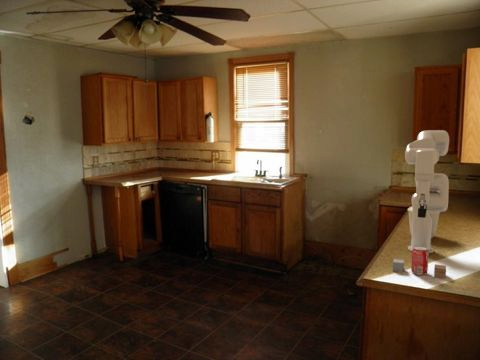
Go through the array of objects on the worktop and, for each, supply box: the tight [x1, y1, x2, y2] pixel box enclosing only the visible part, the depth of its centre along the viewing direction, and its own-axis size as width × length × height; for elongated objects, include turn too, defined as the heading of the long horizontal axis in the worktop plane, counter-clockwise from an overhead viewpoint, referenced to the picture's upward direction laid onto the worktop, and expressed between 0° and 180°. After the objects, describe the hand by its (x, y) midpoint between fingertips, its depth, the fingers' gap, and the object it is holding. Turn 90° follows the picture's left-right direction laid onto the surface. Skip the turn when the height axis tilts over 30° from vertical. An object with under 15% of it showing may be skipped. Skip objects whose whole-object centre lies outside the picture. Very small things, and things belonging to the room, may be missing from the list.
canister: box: [407, 206, 441, 239], centre depth 242 cm, size 18×18×21 cm
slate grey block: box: [392, 258, 405, 274], centre depth 189 cm, size 5×5×5 cm
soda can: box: [410, 246, 430, 276], centre depth 184 cm, size 7×7×12 cm
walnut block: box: [433, 263, 447, 280], centre depth 181 cm, size 5×5×5 cm
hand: (422, 215), depth 181 cm, fingers open, 9 cm apart
